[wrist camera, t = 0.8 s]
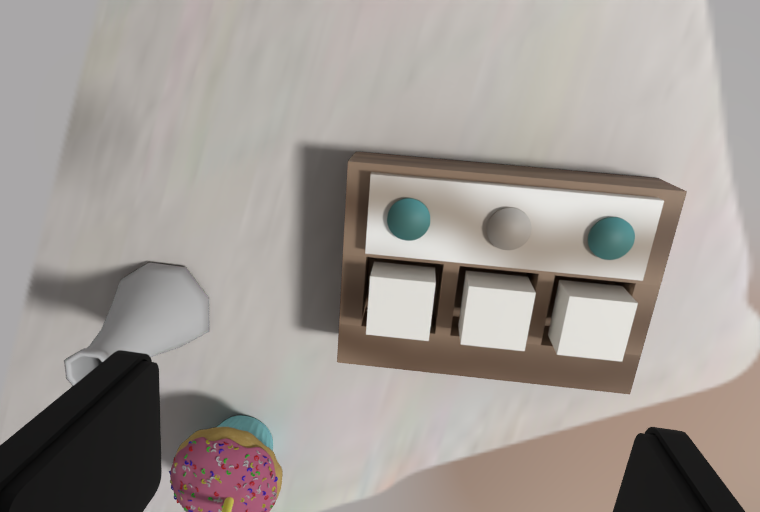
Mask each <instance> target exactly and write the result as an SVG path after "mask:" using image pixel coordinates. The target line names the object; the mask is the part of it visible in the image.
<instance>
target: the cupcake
mask: <svg viewBox="0 0 760 512" xmlns="http://www.w3.org/2000/svg"><path fill="white" fill-rule="evenodd" d="M169 473H170V477H171V480H170V483H171V485H172V486H171V489H172V488H173V489H172V490H173V491H174V499H177V503H180V504H181V505H182V507H183V508H184V511H186V512H269V511H270V510H271V509H272V507H273V505H274V504H275V501H276V500H277V498H278V495H279V492H280V489H281V484H282V468H281V466H280V465H279V463H278V462H277V460H276V457H275V454H274V452H273V439H272V435H271V433H270V431H269V430H268V428H267V427H266V426H265V425H264V424H263V423H262V422H260V421H259V420H257V419H255V418H252V417H249V416H242V415H240V416H233V417H230V418H228V419H226V420H225V421H223V422H222V423H221V424H220V425H219V426H217V427H215V428H210V429H205V430H198V431H196V432H195V433H194V434H192V435H191V436H190V437H189V438H188V439H187V440H185V441H184V442H183V443H182V444H181V445H180V447H179V448H178V450H177V453H176V456H175V457H174V461H173V465H172V467H171V471H169ZM175 497H176V498H175Z"/></svg>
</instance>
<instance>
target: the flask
mask: <svg viewBox="0 0 760 512" xmlns="http://www.w3.org/2000/svg"><path fill="white" fill-rule="evenodd" d="M207 332H209V297H208V296H207V294H206V293H205V292H204V290H203V289H202V288H201V286H200V285H199V284H198V282H197V281H196V280H195V278H194V277H193V275H192V274H191V273H190V271H189V270H188V269H187V267H181V266H173V265H165V264H158V263H150V262H149V263H147V264H146V265H144V266H142V267H141V268H139V269H137V270H136V271H134V272H132V273H131V274H129V275H128V276H126V277H124V278H123V279H121V281H120V283H119V286H118V288H117V291H116V294H115V297H114V300H113V303H112V305H111V308H110V310H109V313H108V315H107V317H106V320H105V322H104V324H103V327H102V329H101V331H100V332H99V333H98V335H97V336H96V337H95V339H94V340H93V342H92V343H91V344H90V346H89V347H87V348H84V349H82V350H80V351H78V352H77V353H75V354H73V355H72V356H70V357H68V358H66V359H65V360H64V363H65V372H66V379H67V380H68V381H69V382H70V383H71V385H72V386H74V385H75V384H76V383H77V382H79V381H80V380H81V379H82V378H84V377H85V376H86V375H87V374H88V373H90V372H91V371H92V370H93V369H95V368H96V367H97V366H98V365H99V364H101V363H102V362H103V361H104V360H106V359H107V358H108V357H109V356H110V355H112V354H113V353H114V352H116V351H118V350H123V351H130V352H137V353H144V354H148V355H149V356H150V358H151V357H153V356H156V355H158V354H161V353H164V352H167V351H170V350H173V349H176V348H179V347H181V346H183V345H185V344H187V343H189V342H190V341H192V340H194V339H196V338H198V337H200V336H202V335H203V334H205V333H207Z"/></svg>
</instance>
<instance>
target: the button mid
mask: <svg viewBox="0 0 760 512" xmlns="http://www.w3.org/2000/svg"><path fill="white" fill-rule="evenodd" d="M535 295H536V292H535V290H534V288H533V286H532V284H531V282H530V280H529V278H528V277H526V276H515V275H505V274H495V273H485V272H475V271H466V273H465V280H464V287H463V294H462V301H461V308H460V315H459V323H458V329H459V337H460V344H461V345H470V346H479V347H489V348H498V349H507V350H517V351H525V347H526V341H527V336H528V331H529V326H530V321H531V316H532V310H533V305H534V300H535Z"/></svg>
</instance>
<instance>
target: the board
mask: <svg viewBox="0 0 760 512" xmlns="http://www.w3.org/2000/svg"><path fill="white" fill-rule="evenodd" d="M686 193H687V191H685V190H682V189H680V188H678V187H676V186H674V185H672V184H670V183H668V182H665V181H663V180H661V179H659V178H651V177H640V176H628V175H617V174H606V173H594V172H583V171H572V170H560V169H549V168H538V167H526V166H515V165H503V164H492V163H481V162H469V161H458V160H447V159H435V158H424V157H413V156H401V155H390V154H379V153H367V152H355V153H354V155H353V156H352V157H351V158H350V159H349V161H348V168H347V187H346V205H345V224H344V243H343V262H342V280H341V299H340V318H339V336H338V355H337V362H339V363H348V364H357V365H366V366H376V367H385V368H394V369H403V370H412V371H421V372H431V373H440V374H449V375H458V376H467V377H476V378H485V379H495V380H504V381H513V382H522V383H531V384H540V385H550V386H559V387H568V388H577V389H586V390H595V391H605V392H614V393H623V394H630V392H631V389H632V385H633V381H634V378H635V374H636V371H637V367H638V364H639V360H640V356H641V353H642V349H643V346H644V342H645V339H646V335H647V331H648V328H649V324H650V321H651V317H652V314H653V310H654V307H655V303H656V299H657V296H658V292H659V289H660V285H661V282H662V278H663V274H664V271H665V267H666V264H667V260H668V257H669V253H670V250H671V246H672V242H673V239H674V235H675V232H676V228H677V225H678V221H679V217H680V214H681V210H682V207H683V203H684V200H685V196H686ZM374 262H384V263H394V264H404V265H414V266H424V267H434V268H435V277H436V285H435V294H434V302H433V310H432V318H431V327H430V335H429V341H423V340H413V339H404V338H394V337H385V336H376V335H366V326H367V312H368V298H369V285H370V275H371V271H372V267H373V264H374ZM466 271H475V272H485V273H495V274H505V275H515V276H526V277H528V278H529V280H530V282H531V284H532V286H533V288H534V290H535V292H536V295H535V300H534V305H533V310H532V316H531V321H530V326H529V331H528V336H527V341H526V347H525V351H517V350H507V349H498V348H489V347H479V346H470V345H461V344H460V337H459V329H458V323H459V315H460V308H461V301H462V294H463V287H464V280H465V273H466ZM559 280H566V281H576V282H586V283H596V284H606V285H617V286H623V287H624V288H625V289H626V291H627V292H628V293H629V294H630V295H631V296H632V297H633V298H634V299H635V300H636V302H637V303H638V305H637V309H636V312H635V316H634V320H633V324H632V327H631V331H630V335H629V338H628V342H627V346H626V350H625V353H624V357H623V361H622V362H621V361H611V360H602V359H592V358H583V357H573V356H564V355H557V354H556V352H555V349H554V347H553V345H552V343H551V341H550V339H549V336H548V331H549V327H550V322H551V317H552V312H553V307H554V303H555V298H556V293H557V288H558V283H559Z"/></svg>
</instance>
